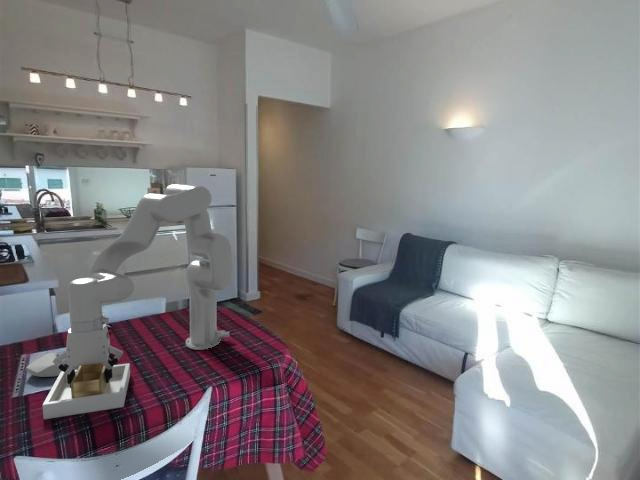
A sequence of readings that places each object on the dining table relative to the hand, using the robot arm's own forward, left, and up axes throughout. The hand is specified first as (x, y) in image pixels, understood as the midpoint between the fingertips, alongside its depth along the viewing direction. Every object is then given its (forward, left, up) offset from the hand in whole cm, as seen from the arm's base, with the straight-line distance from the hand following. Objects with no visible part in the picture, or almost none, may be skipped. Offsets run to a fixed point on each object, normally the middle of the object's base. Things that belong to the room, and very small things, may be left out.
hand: (90, 382), depth 106 cm
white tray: (0, 0, -4) cm, 4 cm away
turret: (+10, -19, -4) cm, 22 cm away
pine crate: (0, 0, -3) cm, 3 cm away
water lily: (+6, -51, -4) cm, 52 cm away
